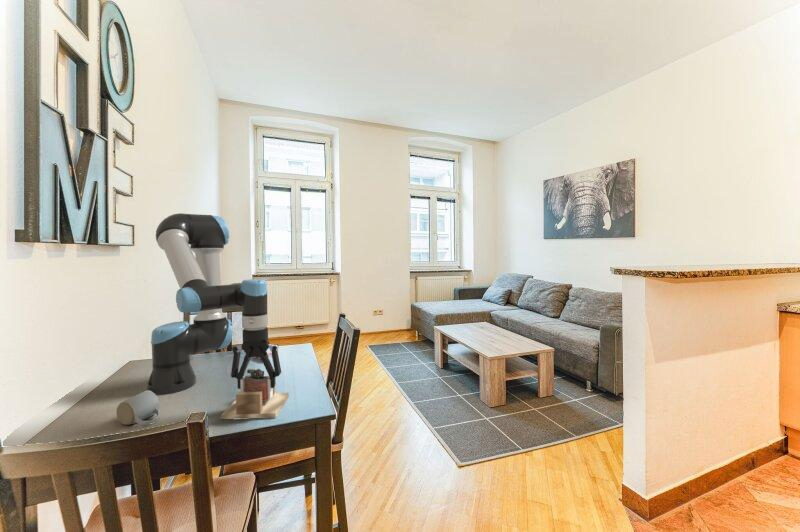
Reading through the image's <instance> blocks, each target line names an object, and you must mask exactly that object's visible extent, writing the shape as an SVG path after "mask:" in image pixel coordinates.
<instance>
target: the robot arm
mask: <svg viewBox="0 0 800 532" xmlns="http://www.w3.org/2000/svg"><path fill="white" fill-rule="evenodd" d="M229 239H230V230H229V227H228V223H227V222H226V220H225V219H224V218H223V217H222V216H219V215H212V214H197V213H196V214H195V213H193V214H192V213H174V214H170V215H168V216H167V217H166V218H165V217H164V219H163V220H162V221H161V222H160V223H159V224H158V225H157V227H156V231H155V241H156V243H157V246H158V247H159V248H160V249H162V250H163V252H164V253H165V255H166V258H167V260H168V262H169V265H170V268H171V271H172V272H173V274H174V277H175V279H176V282H177V285H178V287H179V289H177V291H176V294H175V302H176V308H177V310H178V311H179V312H181V313H182V314H183V313H185V314H186V313H197V314H196V316H194V317H193V323H189V322H188V321H186V320H182V321H181V320H180V321H174V322H169V323H166V324H162V325H159V326H156V328H154V329H153V330H152V332H151V338H150V339H151V341H150V344H151V357H152V358H151V361H152V362H151V363H152V370H151V372H150V375H149V379H148V381H147V385H146V386H147V390H149V391H152V392H153V393H154V394H155V395H167V394H173V393H176V392H181V391H185V390H187V389H189V388H191V387H193V386H195V384H196V383H197V376H196V374H195V372H194V371H195V370H194V369H193V367H192V365H191V361H190V359H191V358H190V357H191V356H193V355H196V354H197V355H198V354H202V353H207V352H212V351H218V350H220V349H224V348H225V349H226V348H227V347H228V346H229V345H230V343H231V342H232V339H233V333H234V327H233V326H232V325H233V323H232V320H231V319H228V318H227V315H226V314H225V313H224V312H223V309H228V308H229V309H230V308H236V307H241V320H242V328H243V329H242V344H240V345H239V344H236V345H234V346H233V347H232V353H233V355H232V357H233V358H232V364H231V371H230V378H232V379H233V378H235V379H237V390H240V392H246V380H245V373H246V372H247V368H248V366H249V363H250V360H251V359H252V358H251V357H260V359H261V360H260V359H259V360H260V361H261V362H262V363H263V366H264V368H265V370H266V372H267V376H269V378H268V379H267V385H268V399H271V397H272V396H273V388H274V387H275V388H276V385H277V383H276V377H279V376H280V375H281V374H282V369H281V361H280V358H279V350H278V349H279V344H278V343H277V344H271V343H270V342H269V328H268V327H267V326H269V320H268V318H269V317H268V315H269V314H268V284H267V281H266V280H265V279H261V278H260V279H259V278H249V279H243V280H242V281H241V282H236V283H235V282H234V283H229V284H223V285H222V279H221V277H222V276H221V274H222V273H221V256H220V255H221V252H223V250H224V249H225V245H227V244H229V241H230V240H229ZM194 254H195V255H194ZM268 350H269V351H270V353H272V355H271V356H272V357H271V359H272V363H271V360H270V357H268V354H267V352H268ZM242 351H244V353H245V355H244V357H243V360H242V361H243V362H242V364H241V366H240V361H241V353H242ZM272 364H273V365H272ZM239 367H240V368H239Z"/></svg>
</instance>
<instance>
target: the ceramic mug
mask: <svg viewBox="0 0 800 532" xmlns="http://www.w3.org/2000/svg"><path fill="white" fill-rule="evenodd" d="M160 413H161V412H160V400H159V398H158V396H157V394H154V393H153V392H152V391H149V390H144V391H142V392H140V393H138V394H135V395H134V396H131V397H130V398H127V399H124V400H123V401H122V402H120V403H119V404H118V405H117V407H116V417H117V419H118V422H120V423H121V424H123V425H125V426H130V425H134V424H135V423H136V424H137V425H141V426H148V425H147V424H150V423H153V422H155V421H156V422H158V421H159V419H160V415H161V414H160ZM154 415H156V417H155V418H153V419H149V420H145V419H147V418H149V417H151V416H154ZM156 422H155V423H156ZM153 424H154V423H153ZM150 425H151V424H150Z"/></svg>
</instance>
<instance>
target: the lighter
mask: <svg viewBox="0 0 800 532" xmlns="http://www.w3.org/2000/svg"><path fill="white" fill-rule="evenodd" d="M246 373H247V374H248V375H247V374H246V375H244V377H245V380H246V392H261V391H262V403H265V402H268V387H267V379H268V377H266V376H267V375H265V371H264V370H261V368H257V369H255V368H248V369H246Z"/></svg>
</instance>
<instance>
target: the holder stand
mask: <svg viewBox="0 0 800 532" xmlns="http://www.w3.org/2000/svg"><path fill="white" fill-rule="evenodd" d="M265 376H266V377H268V378H269V375H265ZM267 387H268V385H267ZM289 395H290V394H289V392H276V386H275V387H274V388H273V396H272V397H271V399H268V402H265V403H262V391H261V392H241V391H239V392H237V393H236V394H235V400H234V401H232V403H231V404H230V405H229V406H228V407H227V408H226V409H225V411H223V413H221V414H220V416H221V417H220V420H221V419H233V420H235V419H234V418H263V419H276V418H277V417H278V415H279V414H280V412H281V410H282V409H283V407H284V406H285V403H286V402H287V401H288V399H289V397H290V396H289Z"/></svg>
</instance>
